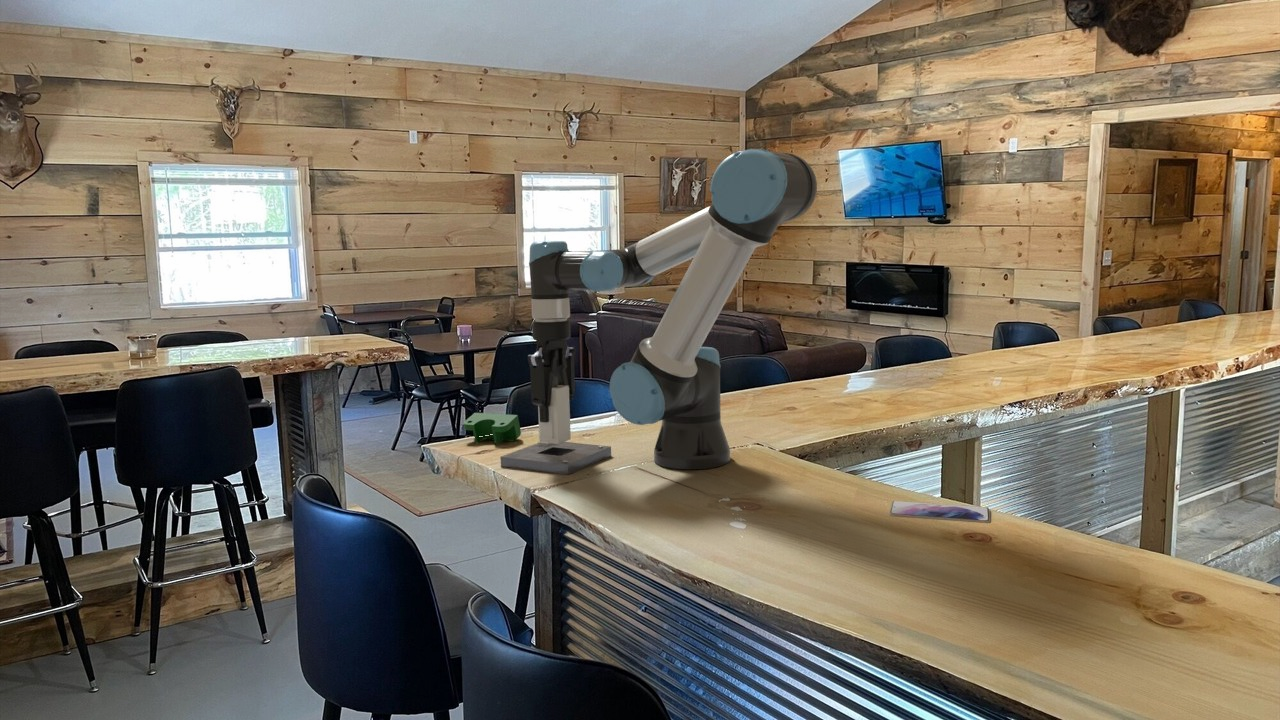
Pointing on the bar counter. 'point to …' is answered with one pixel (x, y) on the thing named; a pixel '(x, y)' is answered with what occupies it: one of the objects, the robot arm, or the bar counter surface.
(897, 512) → the smartphone
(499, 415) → the clamp
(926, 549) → the bar counter surface
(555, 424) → the plug
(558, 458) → the socket
